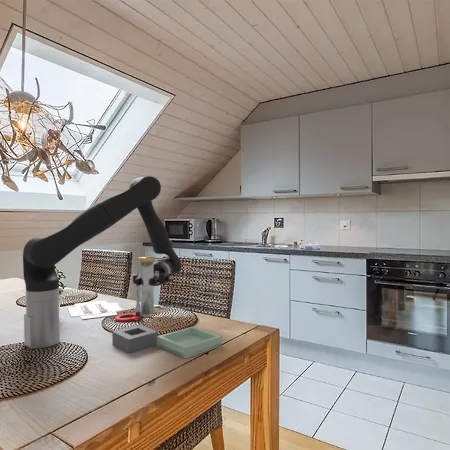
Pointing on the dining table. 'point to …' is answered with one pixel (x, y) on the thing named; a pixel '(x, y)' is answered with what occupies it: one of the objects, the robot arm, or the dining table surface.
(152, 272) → the steel pin
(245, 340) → the dining table surface
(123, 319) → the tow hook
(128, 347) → the socket block
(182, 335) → the tray
